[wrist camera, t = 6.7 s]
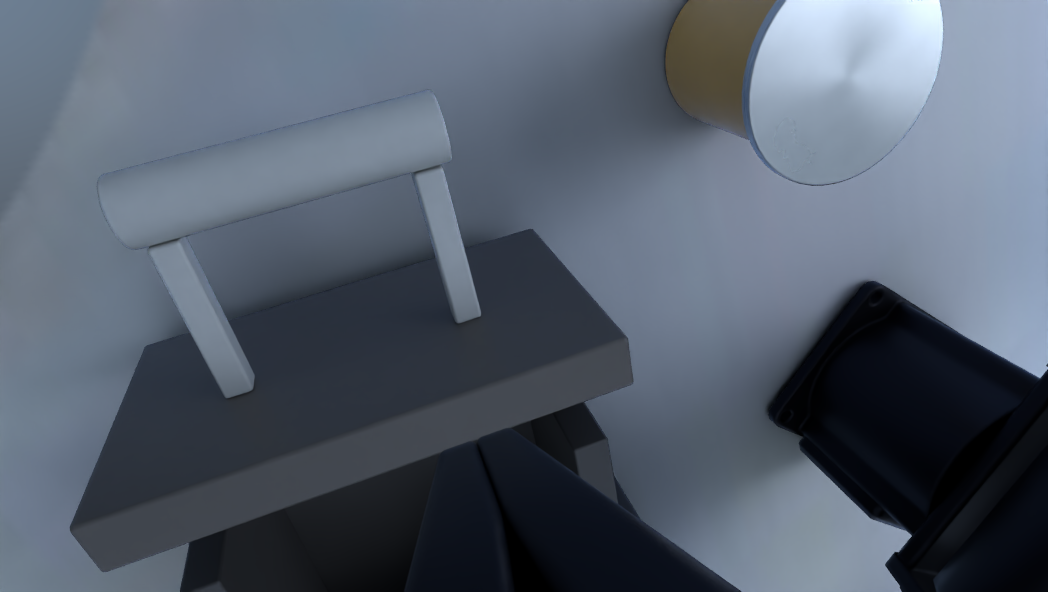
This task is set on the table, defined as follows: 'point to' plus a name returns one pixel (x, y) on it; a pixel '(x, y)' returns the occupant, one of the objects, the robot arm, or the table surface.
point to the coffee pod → (807, 77)
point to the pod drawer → (332, 370)
